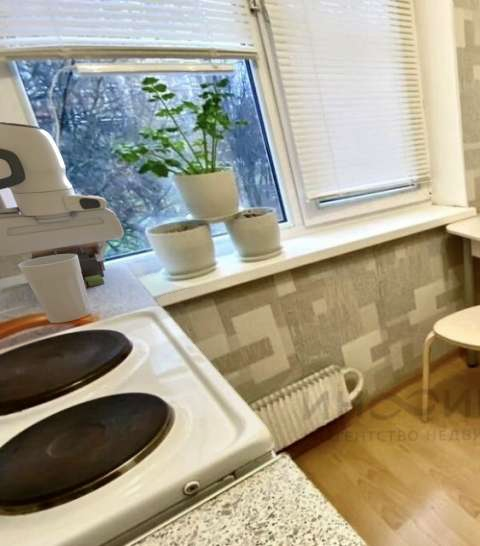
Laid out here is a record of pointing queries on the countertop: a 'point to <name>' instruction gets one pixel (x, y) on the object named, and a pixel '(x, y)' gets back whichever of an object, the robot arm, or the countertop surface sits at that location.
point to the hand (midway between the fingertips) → (72, 265)
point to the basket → (73, 252)
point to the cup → (58, 286)
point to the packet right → (94, 280)
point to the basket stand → (90, 268)
